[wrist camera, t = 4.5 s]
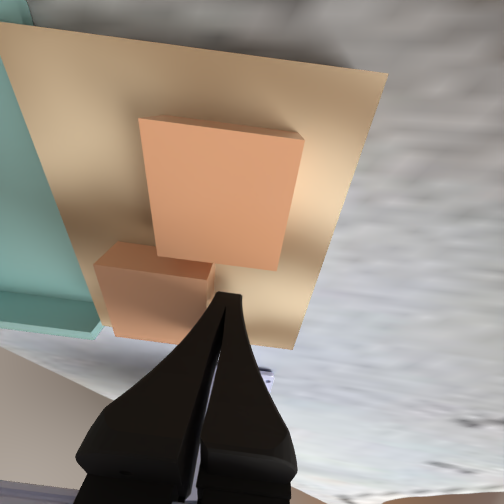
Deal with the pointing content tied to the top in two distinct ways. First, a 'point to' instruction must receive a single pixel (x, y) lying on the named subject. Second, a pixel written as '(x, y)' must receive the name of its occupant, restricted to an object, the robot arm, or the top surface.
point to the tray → (34, 230)
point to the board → (197, 107)
